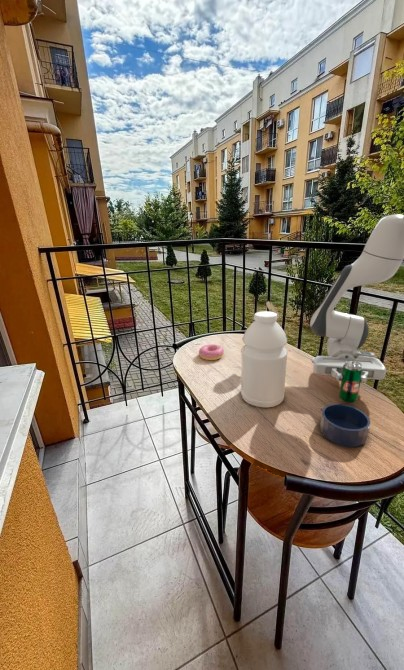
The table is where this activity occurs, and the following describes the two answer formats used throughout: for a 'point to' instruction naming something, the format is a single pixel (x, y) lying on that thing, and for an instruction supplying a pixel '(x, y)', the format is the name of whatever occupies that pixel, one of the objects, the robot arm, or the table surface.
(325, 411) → the bowl
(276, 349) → the bottle
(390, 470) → the table surface
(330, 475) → the table surface
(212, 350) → the doughnut
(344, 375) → the soda can
